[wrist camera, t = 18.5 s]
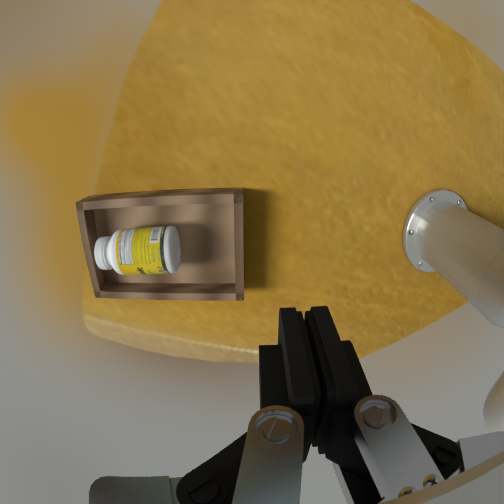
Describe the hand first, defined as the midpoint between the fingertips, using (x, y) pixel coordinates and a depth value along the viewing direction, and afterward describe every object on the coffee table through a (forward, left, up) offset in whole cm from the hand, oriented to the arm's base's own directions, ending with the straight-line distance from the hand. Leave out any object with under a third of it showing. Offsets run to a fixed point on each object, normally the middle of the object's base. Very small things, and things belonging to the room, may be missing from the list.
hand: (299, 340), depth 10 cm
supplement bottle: (+9, +6, -22) cm, 25 cm away
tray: (+12, +6, -26) cm, 29 cm away
